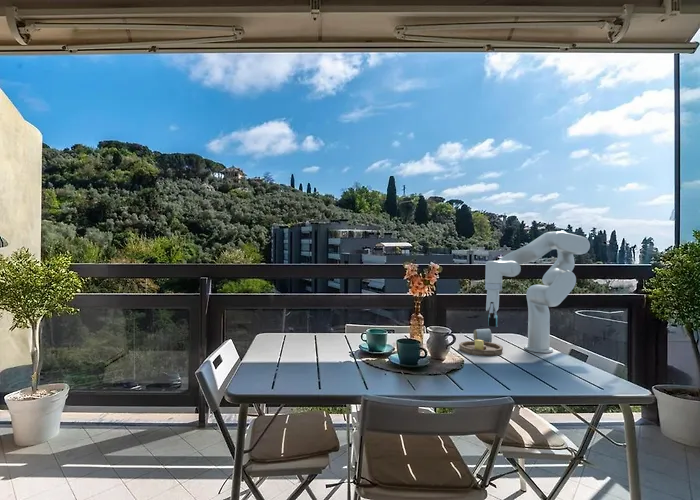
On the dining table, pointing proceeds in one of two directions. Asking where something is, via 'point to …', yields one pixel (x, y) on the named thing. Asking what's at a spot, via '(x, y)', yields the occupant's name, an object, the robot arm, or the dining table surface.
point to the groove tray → (489, 350)
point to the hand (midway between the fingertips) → (492, 325)
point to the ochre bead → (479, 344)
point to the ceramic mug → (483, 335)
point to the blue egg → (496, 320)
